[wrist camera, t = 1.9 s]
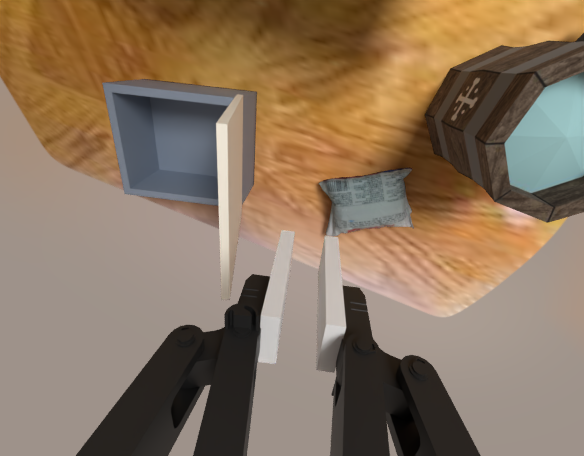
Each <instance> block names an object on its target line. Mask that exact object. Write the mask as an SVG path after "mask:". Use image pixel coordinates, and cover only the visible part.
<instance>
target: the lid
mask: <svg viewBox="0 0 584 456" xmlns="http://www.w3.org/2000/svg"><path fill="white" fill-rule="evenodd" d="M216 138H217V170H218V202H219V232H220V233H219V235H220V263H221V264H220V267H221V299H222V300H230V294H231V286H232V279H233V272H234V265H235V257H236V251H237V243H238V236H239V229H240V222H241V215H242V152H243V95H239V94H237V95H236V96H235V98H234V99H233V100H232V102H231V103H230V105H229V106H228V107H227V109H226V110H225V112H224V113H223V114H222V116H221V117H220V118H219V120H218V121H217V123H216Z"/></svg>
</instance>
